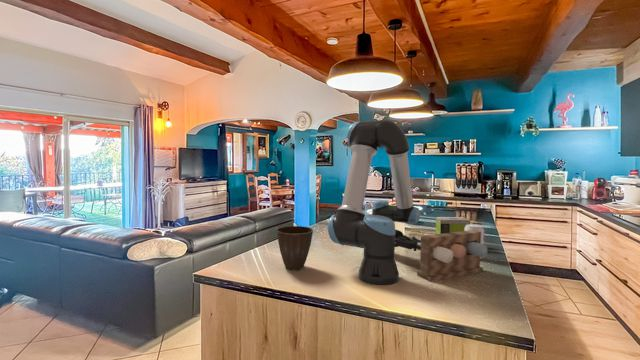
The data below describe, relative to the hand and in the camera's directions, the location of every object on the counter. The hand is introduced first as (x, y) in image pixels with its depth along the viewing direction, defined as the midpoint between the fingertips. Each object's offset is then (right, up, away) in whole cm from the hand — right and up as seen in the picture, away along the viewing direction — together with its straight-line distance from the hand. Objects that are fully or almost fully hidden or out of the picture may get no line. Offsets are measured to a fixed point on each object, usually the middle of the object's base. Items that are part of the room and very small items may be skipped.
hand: (430, 249), depth 131 cm
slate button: (+18, -2, +3) cm, 19 cm away
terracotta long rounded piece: (+9, -2, +2) cm, 10 cm away
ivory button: (+2, -3, -4) cm, 5 cm away
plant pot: (-54, -9, +8) cm, 55 cm away
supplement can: (+28, -9, +25) cm, 39 cm away
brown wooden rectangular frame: (+9, -10, +2) cm, 14 cm away
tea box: (+27, -8, +46) cm, 54 cm away
